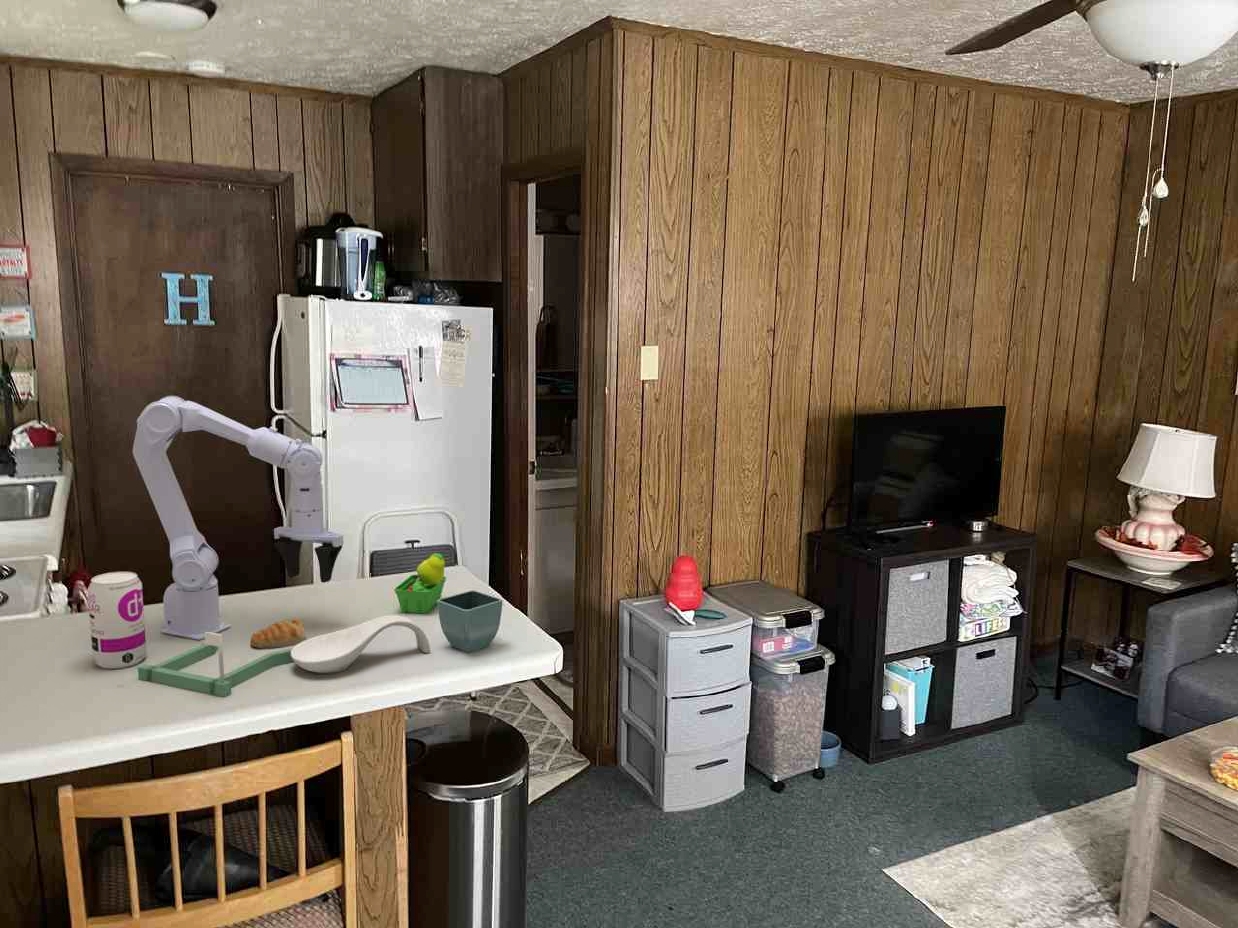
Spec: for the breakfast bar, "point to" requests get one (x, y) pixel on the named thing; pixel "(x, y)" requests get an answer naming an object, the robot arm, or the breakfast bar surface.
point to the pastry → (279, 635)
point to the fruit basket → (422, 586)
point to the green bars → (220, 686)
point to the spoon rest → (348, 644)
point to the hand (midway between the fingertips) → (309, 578)
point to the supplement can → (117, 620)
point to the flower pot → (470, 619)
